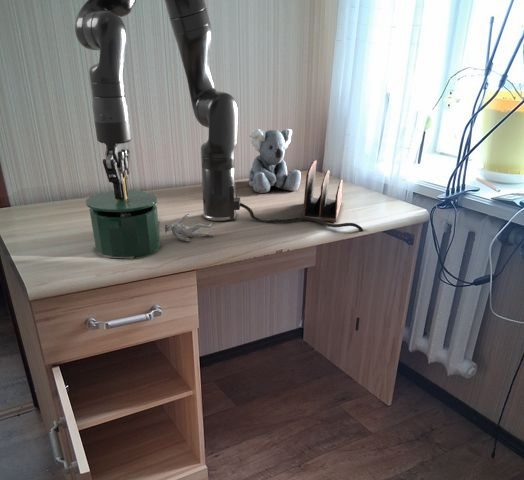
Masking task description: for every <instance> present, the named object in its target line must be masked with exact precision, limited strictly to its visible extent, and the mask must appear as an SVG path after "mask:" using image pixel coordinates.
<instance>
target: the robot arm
mask: <svg viewBox="0 0 524 480" xmlns="http://www.w3.org/2000/svg"><path fill="white" fill-rule="evenodd" d="M137 1H138V0H86V2H84V4H83V5H82V6H81V8H80V9H79V11H78V12H77V15H76V18H75V20H74V21H75V22H74V34H75V37H76V40H77V41H78V43H79V44H80V45H81V46H82V47H84V48H85V49H87V50H91V51H99V59H98V63H95V64H93V65H91V66H90V67H89V69H88V75H89V76H88V77H89V82H90V83H89V85H90V92H91V99H92V103H91V105H92V106H91V107H92V114H93V121H94V127H95V134H96V140H97V142H98V143H100V144H104V145H105V151H104V152H105V158H103V159H102V164H103V168H104V171H105V174H106V177H107V180H108V183H111V184H112V187H113V191H114V194H115V199H117V200H123V199H124V198H125V193H124V185H123V177H124V178H125V185H126V193H127V195H128V190H129V187H128V178H129V176H130V152H131V151H130V148H126V145H125V144H127V143H130V142H131V141H132V139H133V138H132V130H131V121H130V114H129V113H130V111H129V106H128V102H127V96H126V88H125V79H124V72H125V65H126V54H127V46H128V34H127V29H126V25H125V23H124V20H123V19H122V18H123V17H127V16H129V14H131V12H132V11H133V10H134V7H135V6H136V3H137ZM164 3H165V7H166V11H167V15H168V18H169V22H170V26H171V30H172V32H173V36H174V38H175V42H176V44H177V48H178V51H179V52H178V53H179V56H180V59H181V62H182V66H183V69H184V73H185V77H186V81H187V86H188V92H189V96H190V102H191V107H192V111H193V114H194V117H195V119H196V121H197V122H198V123H199V124H200V125H201V126H202V127H205V128H208V139H207V140H206V142H204V143H202V144H201V146H200V155H201V156H200V163H201V164H200V165H201V182H202V203H203V205H202V206H203V209H202V211H203V213H202V214H203V216H202V217H203V218H204V219H205V220H208V221H212V222H226V221H234V220H235V219H236V215H237V211H240V209H241V208H243V209H245V210H246V211H247V212H248V213H249V214H250V215H249V216H250V217H251V219H253V221H255V222H259V223H267V224H275V223H291V222H296V221H310V222H314V223H318V224H320V225H323V226H326V227H330V228H344V227H354V228H356V229H357V230H359V231H360V232H364V228H363V227H362V226H361V225H360V224H357V223H355V222H342V223H332V222H325V221H321V220H318V219H315V218H310V217H303V216H297V217H296V216H295V217H290V218H274V219H271V218H270V219H261V218H259V217H257V216H256V215H255V214H254V212H253V210H252V208H250V207H249V206H248V205H246V204H244V203H242V202H241V197H236V194H237V191H236V189H237V188H236V187H237V186H236V180H235V175H236V173H235V150H236V148H237V143H238V126H239V111H238V110H239V109H238V104H237V101H236V100H235V98H234V96H233V95H232V94H230V93H228V92H225V91H219V90H217V88H216V87H215V82H214V79H213V76H212V71H211V64H210V63H211V61H210V60H211V50H212V42H213V29H212V24H211V21H210V17H209V13H208V8H207V4H206V1H205V0H164ZM360 320H361V318H360V317H356V320H355V328H354V329H355V331H356V332H357V331H359V326H360Z"/></svg>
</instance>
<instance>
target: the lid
mask: <svg viewBox="0 0 524 480" xmlns="http://www.w3.org/2000/svg"><path fill="white" fill-rule="evenodd" d="M123 185H124V193H125V198H124V199H123V200H117V199H115V194H114V190H109V191H104V192H100V193H96V194H93V195H91V196H89V197H88V198H87V199H86V200H85V205H86V206H87V208H89V209H90V208H91V209H94V210H98V211H105V212H130V211H136V210H141V209H145V208H148V207H151V206H153V205H156V204H157V203H158V196H157V195H156V194H154V193H152V192H149V191H143V190H136V189H135V190H134V189H128V195H127V193H126V185H125V178H124V177H123Z"/></svg>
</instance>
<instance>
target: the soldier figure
mask: <svg viewBox="0 0 524 480" xmlns="http://www.w3.org/2000/svg"><path fill="white" fill-rule="evenodd" d="M188 216H190V213H186V214H184V215H183V216H182V217H181V218H179V219H178V221H176V222H174V223H172V226H171V224H170V225H168V224H164V227H163V228H164V233H165V234H167V233H168V232H171V233H172V235H173V236H174V237H175V238H176V239H177V240H179V241H182V242H185V241H186V242H189V241H190V238H195V237H201V238H202V237H205V236H208V237H212V234H213V232H202V231H200V230H199V229H205V228H207V229H211V228H212V226H213V223H210V224H203V223H200V222H199V223H196V224H193V225H192V226H187V225H185V224H182V223H184V221H185V219H186V218H188ZM198 230H199V231H198Z"/></svg>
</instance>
